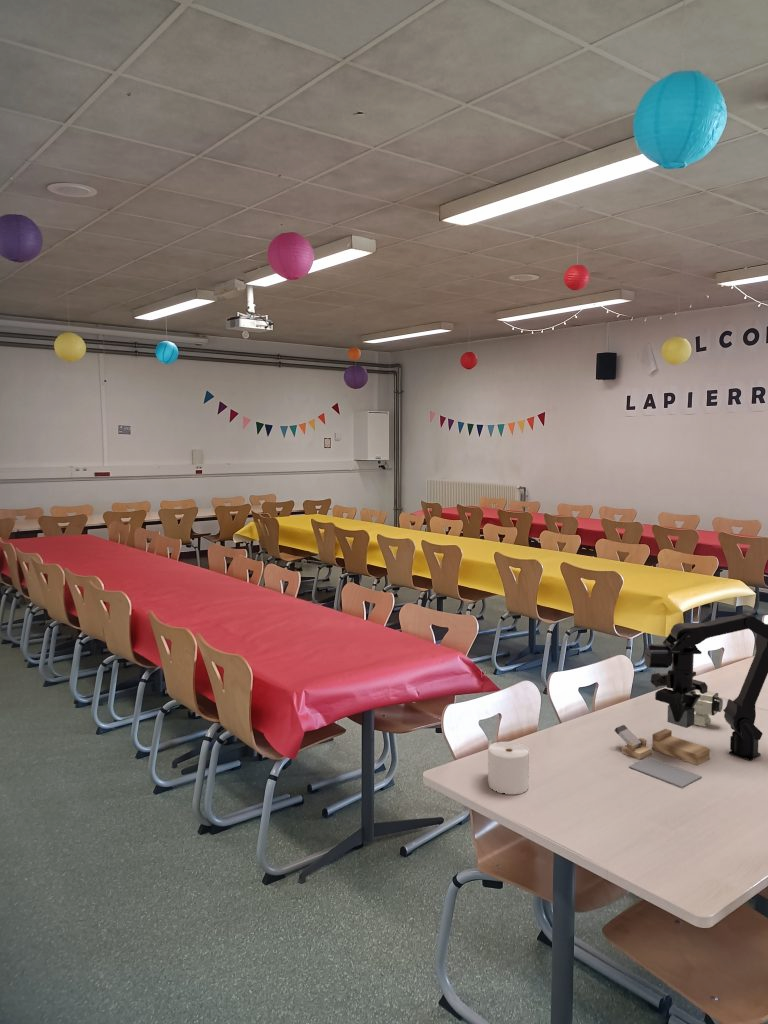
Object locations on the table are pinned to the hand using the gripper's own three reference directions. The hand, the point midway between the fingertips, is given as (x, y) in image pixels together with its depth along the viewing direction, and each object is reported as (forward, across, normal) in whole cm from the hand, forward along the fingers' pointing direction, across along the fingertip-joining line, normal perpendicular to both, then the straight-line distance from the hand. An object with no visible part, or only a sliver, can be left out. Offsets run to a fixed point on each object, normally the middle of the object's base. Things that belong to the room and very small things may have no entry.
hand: (680, 719), depth 210 cm
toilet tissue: (+11, +55, -18) cm, 59 cm away
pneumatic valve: (+10, -26, -8) cm, 29 cm away
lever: (+8, +10, -8) cm, 15 cm away
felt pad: (+10, +15, +4) cm, 18 cm away
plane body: (+10, 0, 0) cm, 10 cm away
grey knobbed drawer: (+1, 0, 0) cm, 1 cm away
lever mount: (+10, +10, -8) cm, 16 cm away
